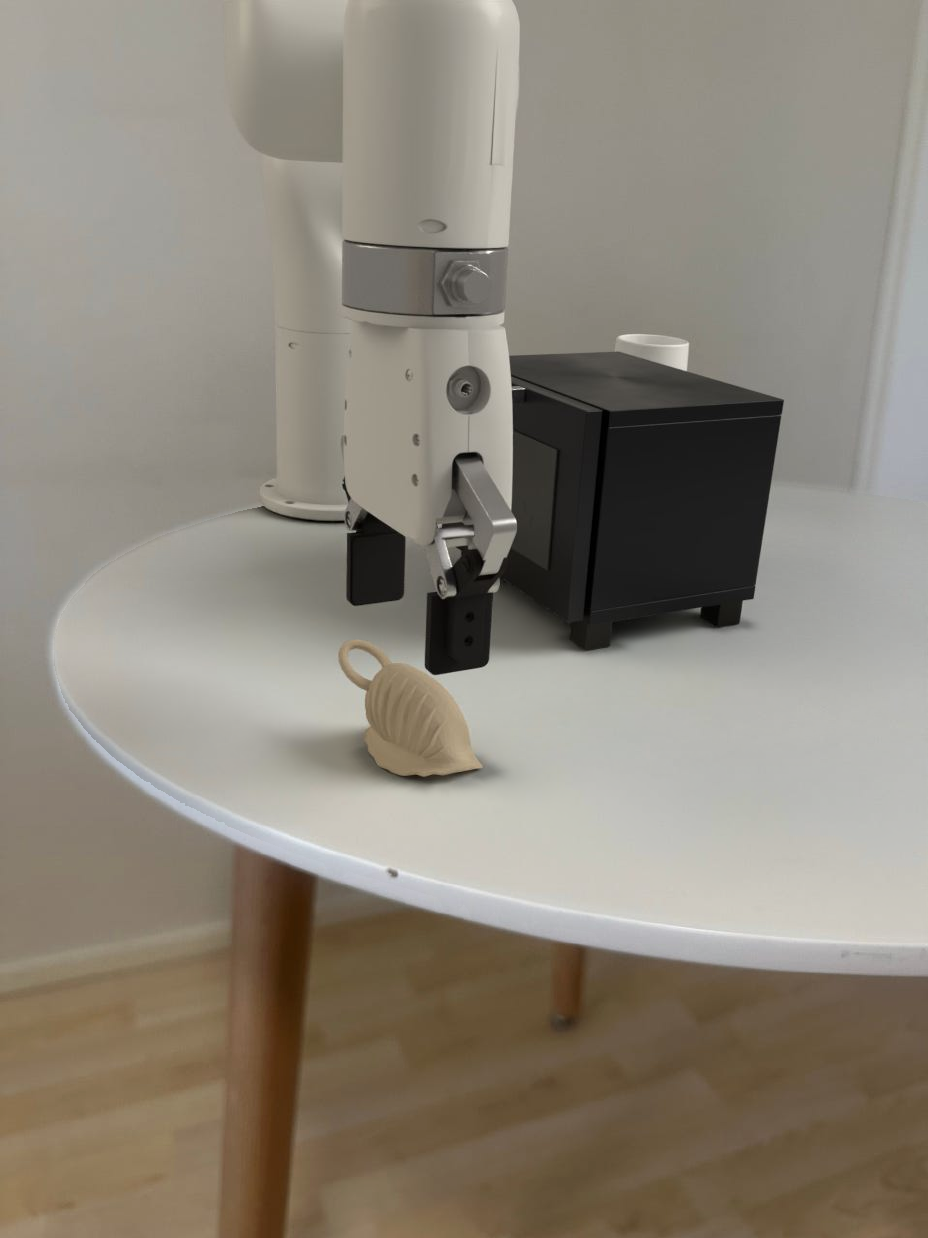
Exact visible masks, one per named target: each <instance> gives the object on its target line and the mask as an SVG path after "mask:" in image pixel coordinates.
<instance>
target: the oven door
mask: <svg viewBox="0 0 928 1238" xmlns="http://www.w3.org/2000/svg"><path fill="white" fill-rule="evenodd" d="M511 388H512V414H513V473H512V504H511V512H512V513H513V515H514V517H515V519H516V522H517V532H516V535H515V537H514V540H513V543H512V545H511V548H510V550H509V553H508V555H507V558H508V564H507V567H506V570H505V572H504V573H503V574H502V575H501V576H500V577H499V578H500V579H502V581H503V580H504V581H505V582H506V583H507V584H509V585H511V586H512V587H514V588H516V589H517V590H519V591H520V592H521V593H523V594H524V595H526V596H527V597H529V598H530V599H531V600H533V601H535V602H536V603H537V604H539V605H541V606H542V607H544V608H545V609H547V611H550V612H551V613H552V614H554V615H555V616H557V617H559V618H560V619H561V620H563V621H564V622H566V623H568V624H569V623H571V622H576V621H582V620H583V615H584V605H585V594H586V583H587V573H588V562H589V551H590V541H591V530H592V519H593V509H594V498H595V487H596V477H597V466H598V455H599V445H600V434H601V423H602V413H603V411H602V410H600V409H598V408H595V407H592V406H590V405H587V404H584V403H582V402H579V401H576V400H573V399H571V398H568V397H565V396H563V395H560V394H557V393H555V392H552V391H549V390H547V389H544V388H541V387H539V386H536V385H533V384H531V383H528V382H525V381H522V380H520V379H517V378H514V377H512V376H511ZM463 525H464V523H463V522H456V523H446V524H441V528H444V527H454V526H463ZM455 548H456V549H457V550H458V551H460V552H461V551H462V552H463V553H464V552H465V551H466V550H469V549H468V545H465V546H456V547H455Z"/></svg>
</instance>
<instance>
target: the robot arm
mask: <svg viewBox="0 0 928 1238" xmlns="http://www.w3.org/2000/svg"><path fill="white" fill-rule="evenodd" d="M222 13H223V18H222V19H223V57H224V76H225V77H224V78H225V85H226V86H225V88H226V92H227V101H228V105H229V110H230V114H231V117H232V119H233V122H234V124H235V127H236V129H237V131H238V132H239V134H240V135H241V137H242V138H243V140H244V141H245V142H246V143H247V144H248V145H249V146H250V147H252V148H253V149H254V150H255V151H257V152H258V153H261V154H262V155H261V161H260V162H261V164H260V168H261V169H260V177H261V188H262V189H261V190H262V195H263V201H264V202H263V203H264V207H265V214H266V221H267V228H268V234H269V241H270V242H269V244H270V251H271V262H272V263H271V264H272V282H273V283H272V284H273V305H274V306H273V310H274V311H273V313H274V317H273V318H274V320H273V321H274V361H275V362H274V364H275V366H274V367H275V369H274V370H275V372H274V373H275V432H276V433H275V434H276V435H275V437H276V441H275V442H276V444H275V445H276V446H275V447H276V477H273V478H271V479H268V480H267V481H266V482H264V483H263V484H262V485H260V488H259V493H258V494H259V495H258V496H259V497H258V498H259V499H258V500H259V502H260V504H261V505H262V506H263V507H264V508H266V509H267V510H269V511H271V512H273V513H276V514H278V515H281V516H285V517H289V518H294V519H301V520H311V521H321V522H322V521H325V522H338V521H339V522H340V521H341V522H342V521H343V522H344V525H345V527H346V530H347V531H349V532H346V582H345V583H346V587H345V589H346V590H345V593H346V596H345V597H346V601H347V602H348V603H349V604H351V606H354V607H359V606H360V607H361V606H369V605H376V604H381V603H390V602H397V601H400V600H402V599H403V597H404V596H405V579H406V577H405V576H406V575H405V573H406V572H405V571H406V543H407V542H406V539H408V540H410V541H411V542H413V543H415V544H417V545H420V546H423V549H424V551H425V555H426V559H427V562H428V565H429V569H430V573H431V577H432V581H433V585H434V587H435V591H430V592H426V615H425V638H424V639H425V640H424V642H425V643H424V669H425V670H426V671H428V672H429V674H431V675H433V676H439V675H445V674H452V673H457V672H463V671H469V670H474V669H480V668H484V667H486V666H487V664H488V663H489V662H490V652H491V635H492V618H493V601H494V600H493V599H494V593H496V592H498V590H499V589H500V584H501V580H500V579H501V577H500V576H501V575H502V574H503V573H504V572H505V570H506V567H507V564H508V558H507V555H508V553H509V550H510V548H511V545H512V543H513V540H514V537H515V535H516V532H517V522H516V519H515V517H514V515H513V513H512V512H511V504H512V473H513V414H512V388H511V373H510V362H509V356H510V353H509V346H508V339H507V333H506V327H504V326H502V325H503V324H504V323H505V314H506V313H505V312H506V311H505V310H506V297H507V281H508V279H507V277H508V261H509V259H508V258H509V249H508V247H509V245H510V226H511V212H512V211H511V209H512V190H513V175H514V174H513V173H514V153H515V139H516V138H515V134H516V118H517V115H518V108H519V101H520V89H521V83H520V48H521V47H520V45H521V42H520V41H521V32H520V31H521V23H520V17H519V16H520V15H519V13H518V10H517V7H516V5H515V2H514V1H513V0H222ZM456 522H463V523H464V525H463V526H454V527H444V528H442V527H439V525H442V524H446V523H456ZM465 545H468V549H469V550H466V551H465V552H464V553H463V554H462V556H461V555H460V557H458V558H459V559H457V561H456V562H455V563H454V564H453V565H452V561H451V558H450V554H449V550H448V548H456V546H465Z"/></svg>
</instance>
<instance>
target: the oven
mask: <svg viewBox="0 0 928 1238" xmlns="http://www.w3.org/2000/svg"><path fill="white" fill-rule="evenodd" d="M509 362H510V373H511V376H512V377H514V378H517V379H520V380H522V381H525V382H528V383H531V384H533V385H536V386H539V387H541V388H544V389H547V390H549V391H552V392H555V393H557V394H560V395H563V396H565V397H568V398H571V399H573V400H576V401H579V402H582V403H584V404H587V405H590V406H592V407H595V408H598V409H600V410H602V411H603V413H602V423H601V434H600V445H599V455H598V466H597V477H596V487H595V498H594V509H593V519H592V530H591V541H590V551H589V562H588V573H587V583H586V594H585V605H584V615H583V620H582V621H576V622H570V628H569V638H568V639H569V641H571V642H572V643H573V644H575V645H576V646H578V647H579V648H581V649H582V650H584V651H591V650H597V649H602V648H607V647H608V648H609V647H610V646H611V640H612V632H613V624H614V622H621V621H626V620H627V621H628V620H633V619H634V620H635V619H638V618H644V617H651V616H657V615H663V614H670V613H676V612H681V611H682V612H683V611H688V610H694V609H700V614H699V618H700V619H701V620H703V621H704V622H707V623H708V624H710V625H712V626H714V627H715V628H719V629H720V628H723V627H729V626H736V625H740V623H741V616H742V611H743V603H744V601H750V600H754V599H755V592H756V584H757V578H758V573H759V566H760V559H761V553H762V545H763V541H764V540H763V539H764V532H765V526H766V520H767V514H768V507H769V501H770V500H769V499H770V492H771V486H772V481H773V474H774V469H775V461H776V453H777V448H778V440H779V434H780V429H781V428H780V427H781V420H782V415H783V409H784V404H785V399H783V398H780V397H777V396H773V395H769V394H765V393H762V392H759V391H756V390H753V389H749V388H746V387H743V386H739V385H736V384H731V383H728V382H725V381H721V380H718V379H715V378H711V377H707V376H704V375H700V374H697V373H694V372H690V371H688V370H687V371H684V370H681V369H677V368H674V367H670V366H667V365H663V364H660V363H657V362H653V361H650V360H646V359H643V358H639V357H636V356H633V355H629V354H626V353H622V352H614V351H602V352H601V351H596V352H571V353H547V354H544V353H542V354H540V353H539V354H515V355H509ZM462 554H463V552H462V551H460V557H461V556H462Z"/></svg>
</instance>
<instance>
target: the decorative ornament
mask: <svg viewBox="0 0 928 1238" xmlns="http://www.w3.org/2000/svg"><path fill="white" fill-rule="evenodd" d="M355 649H356V650H361V651H364V652H366V653H368V654H369V655H371V656H372V657H373V658H375V660H376V661H378V663H379V664H380V665H381V667H382V668H381V669H379V670H378V672H377V673H375V674H374V677H373V678H372V679H371V680H370V679H368V678H366V677H364V676H362V675H361V674H359V672H357V671H356V670H355V669H354V668H353V666H352V665H351V664H350V660H349V658H348V654H349V652H350V651H352V650H355ZM337 656H338V657H337V659H338V664H339V667H340V669H341V671H342V672H343V674H344V675H345V676H346V678H347V679H348V680H349V681H350V682H351V683H352V684H354V685H355V686H356V687H357V688H359V689H361V690H363V691H366V692H365V695H364V708H365V718H366V721H367V722H368V725H369V727H367V728H366V729H365V737H364V742H365V743H366V745H367V752H368V753H369V754H370V756H372V757H373V759H374V761H375V763H376V764H377V766H378V767H379V768H381V769H385V770H387V771H389V772H391V773H393V774H394V775H398V776H402V777H405V776H406V777H407V776H413V775H418V776H420V777H424V778H426V777H428V776H431V775H438V776H447V775H450V774H455V773H456V774H457V773H460V772H466V771H472V770H476V769H483V768H484V766H483V764H482V763H481V762H480V761H479V759H478V758H477V757H476V755H475V754H474V751H473V748H472V742H471V736H470V730H469V727H468V723H467V720H466V719H465V716H464V714H463V712H462V710H461V708H460V707H459V705H458V703H457V701H456V699H454V697H453V695H452V694H451V693H450V692H449V691H448V690H447V689H446V688H445V686H443V684H441V683H440V682H439V681H438V680H436V679H435V678H434V677H432V676H431V675H429V674H427V673H426V672H424V671H423V670H421V669H419V668H417V667H414V666H412V665H410V664H407V663H402V662H392V659H390V657H389V656H388V654H387V653H385V651H384V650H382V649H381V648H380V647H378V646H377V645H376V644H374V643H372V642H369V641H367V640H363V639H351V640H348V641H345V642H344V643H343V644H342V645H341V646H340V648H339V650H338V655H337Z"/></svg>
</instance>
